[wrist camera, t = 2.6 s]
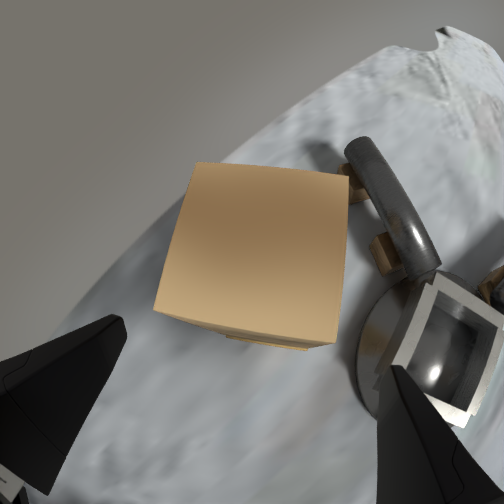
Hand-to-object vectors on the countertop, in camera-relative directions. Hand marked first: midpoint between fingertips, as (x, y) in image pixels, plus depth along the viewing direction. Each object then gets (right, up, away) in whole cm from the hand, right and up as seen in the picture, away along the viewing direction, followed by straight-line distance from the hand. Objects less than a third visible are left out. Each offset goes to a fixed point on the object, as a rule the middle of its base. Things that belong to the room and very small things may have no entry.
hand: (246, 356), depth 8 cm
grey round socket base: (+13, -4, +8) cm, 15 cm away
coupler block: (+2, -1, +10) cm, 10 cm away
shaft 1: (+10, +5, +11) cm, 16 cm away
